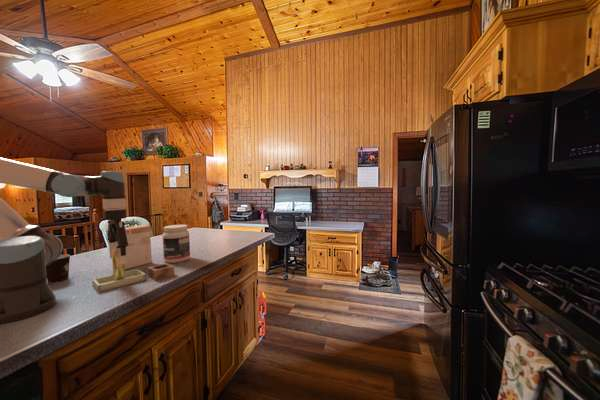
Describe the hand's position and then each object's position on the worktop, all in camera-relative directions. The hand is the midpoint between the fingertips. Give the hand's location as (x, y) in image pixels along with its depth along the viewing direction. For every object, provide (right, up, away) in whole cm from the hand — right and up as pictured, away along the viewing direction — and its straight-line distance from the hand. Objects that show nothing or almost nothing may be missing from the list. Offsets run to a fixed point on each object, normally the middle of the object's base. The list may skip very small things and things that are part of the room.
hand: (118, 260), depth 103 cm
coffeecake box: (-9, -8, +24) cm, 27 cm away
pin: (0, -9, +1) cm, 9 cm away
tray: (0, -9, +1) cm, 9 cm away
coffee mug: (-30, -10, +7) cm, 32 cm away
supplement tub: (+9, -8, +31) cm, 33 cm away
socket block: (+14, -9, +7) cm, 18 cm away
